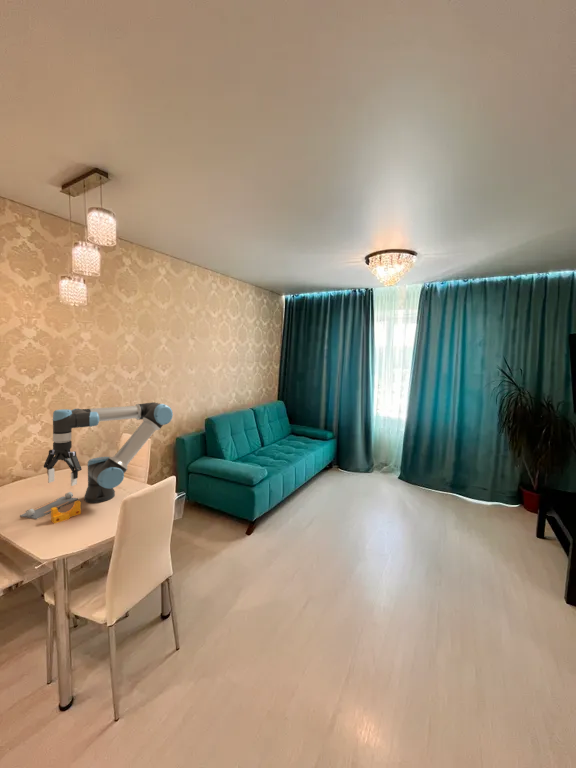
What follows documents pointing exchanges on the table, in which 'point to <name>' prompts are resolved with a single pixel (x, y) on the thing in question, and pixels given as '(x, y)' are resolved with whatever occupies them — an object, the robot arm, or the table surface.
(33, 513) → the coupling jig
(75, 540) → the table surface
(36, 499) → the table surface
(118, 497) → the table surface
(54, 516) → the pipe clamp
